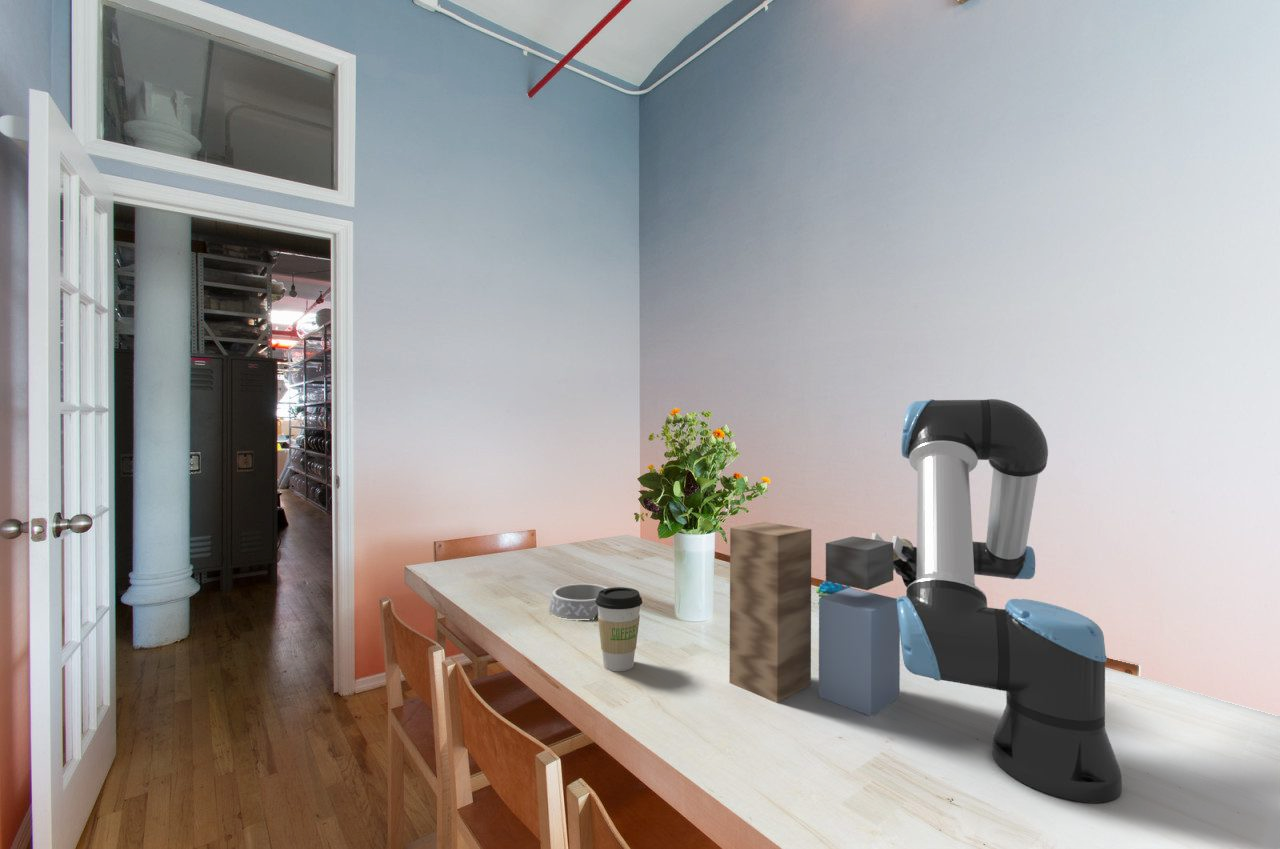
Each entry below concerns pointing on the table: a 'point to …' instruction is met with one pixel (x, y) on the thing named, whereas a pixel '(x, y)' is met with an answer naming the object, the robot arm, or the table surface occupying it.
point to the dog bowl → (575, 601)
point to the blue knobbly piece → (829, 589)
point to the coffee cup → (618, 626)
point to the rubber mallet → (860, 562)
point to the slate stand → (859, 650)
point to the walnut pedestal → (770, 609)
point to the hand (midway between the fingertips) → (883, 540)
